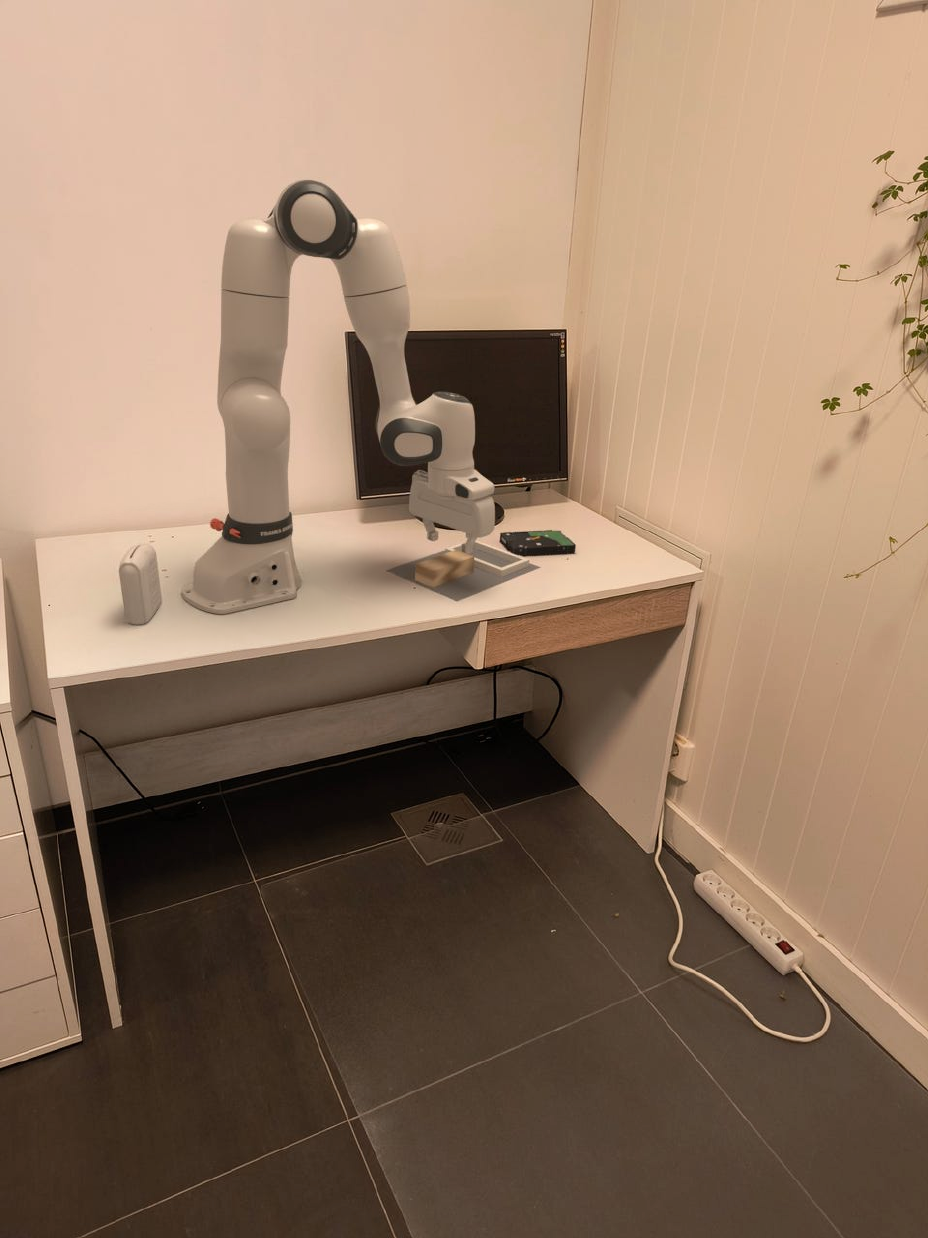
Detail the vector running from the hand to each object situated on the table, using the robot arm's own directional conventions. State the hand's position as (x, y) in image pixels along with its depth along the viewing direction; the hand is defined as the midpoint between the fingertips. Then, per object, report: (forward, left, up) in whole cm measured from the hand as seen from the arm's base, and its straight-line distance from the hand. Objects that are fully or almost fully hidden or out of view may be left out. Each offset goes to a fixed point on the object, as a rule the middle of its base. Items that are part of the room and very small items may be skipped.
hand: (449, 546), depth 161 cm
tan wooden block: (-1, 0, -7) cm, 6 cm away
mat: (+5, 0, -7) cm, 9 cm away
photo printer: (-53, +24, -7) cm, 59 cm away
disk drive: (+28, -1, -8) cm, 29 cm away
